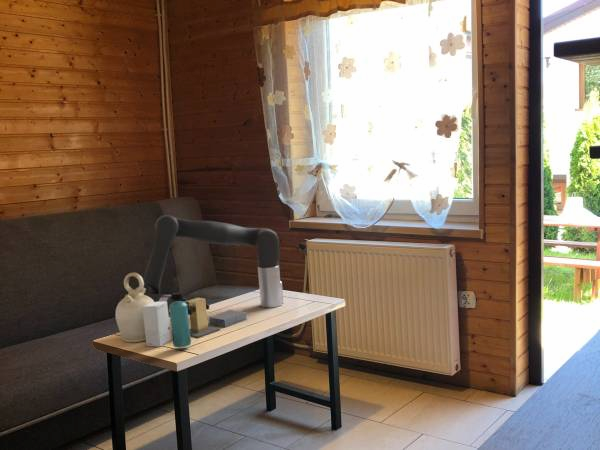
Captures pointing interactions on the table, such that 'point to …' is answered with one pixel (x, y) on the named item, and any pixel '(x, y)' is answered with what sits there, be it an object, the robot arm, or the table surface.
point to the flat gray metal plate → (204, 332)
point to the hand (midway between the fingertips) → (200, 309)
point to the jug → (132, 311)
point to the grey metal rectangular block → (227, 318)
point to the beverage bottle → (179, 321)
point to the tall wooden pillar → (198, 315)
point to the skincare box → (156, 324)
